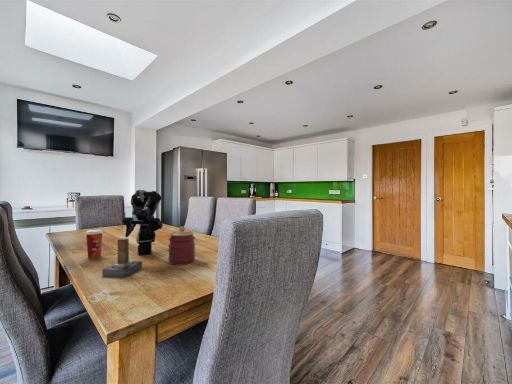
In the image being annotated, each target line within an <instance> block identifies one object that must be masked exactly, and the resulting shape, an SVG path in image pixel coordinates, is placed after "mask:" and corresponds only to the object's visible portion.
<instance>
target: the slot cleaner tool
mask: <svg viewBox="0 0 512 384" xmlns="http://www.w3.org/2000/svg"><path fill="white" fill-rule="evenodd" d="M129 240H130V239H129V237H127V238H126V237H123V238H118V239H117V262H116V263H117V264H115V263H114V264H115V265H114V268H125V267H127V266H129V265H132V261H133V260H130V258H129V257H130V255H129V254H130V251H129V250H130V248H129V247H130V246H129V244H130V243H129Z"/></svg>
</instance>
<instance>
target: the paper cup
mask: <svg viewBox="0 0 512 384" xmlns="http://www.w3.org/2000/svg"><path fill="white" fill-rule="evenodd" d="M103 233H104V232H103V229H89V230H86V232H85V235H86V248H87V250H86V251H87V258H88V259H96V258H100V257H101V256H102V255H101V254H102V242H103Z"/></svg>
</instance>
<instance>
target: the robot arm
mask: <svg viewBox="0 0 512 384" xmlns="http://www.w3.org/2000/svg"><path fill="white" fill-rule="evenodd" d="M161 200H162V195H161V194H160V193H158V192H157V191H156V190H151V191H148V190H145V189H138V190H136V191H135V193H133V195H131V197H130V205H131V207H132V209H133V210H132V213H131V214H132V215H134V216H135V218H133V217H132V216H131V217H130V216H129V217H127V216H126V217H123V219H122V220H121V222H122V223H123V224H124V225H125V235H124V238H129V236H130V235H131V234H132V233H133V231H134V230H135V227H136V226H137V225H139V228H138V233H137V235H136V244H138V245H137V255H138V256H143V255H146V256H147V255H152V252H153V243H154V242H155V240H156V235H157V234H156V231H159V230H161V229H162V228H163V222H162V221H161V219H160V218H159V217H155V214H156V212H157V209H158V207H159V204H160V202H161Z"/></svg>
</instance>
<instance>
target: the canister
mask: <svg viewBox="0 0 512 384" xmlns="http://www.w3.org/2000/svg"><path fill="white" fill-rule="evenodd" d="M169 235H170V237H168V241H169V244H168V263H169V264H170V265H171V264H172V265H174V266H175V265H177V266H178V265H181V266H182V265H187V264H192V263H194V262H195V260H196V254H195V253H196V243H195V239H196V236H194V232H193V231H192V230H191V229H186V228H185V226H183V225H182V226H180V227H179V229H176V230H173V231H172V232H171V233H170V234H169Z"/></svg>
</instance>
